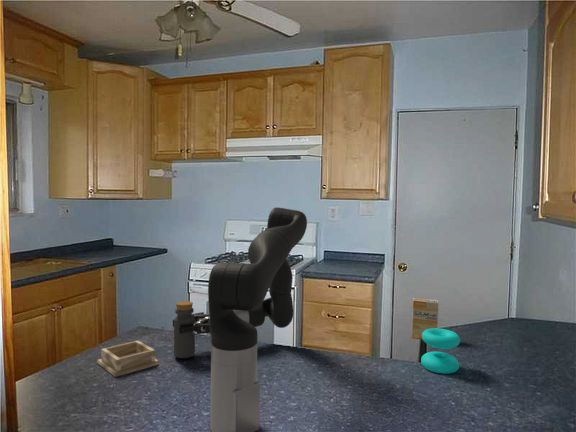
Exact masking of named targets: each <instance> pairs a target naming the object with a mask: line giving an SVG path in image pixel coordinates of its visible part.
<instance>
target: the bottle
mask: <svg viewBox="0 0 576 432" xmlns="http://www.w3.org/2000/svg"><path fill="white" fill-rule="evenodd" d="M193 304H194V303H193V302H192V301H190V300H186V301H185V300H182V301H178V302H175V306H176V309H174V310H175V311H174V312H175V313H174V314H175V315H176V316H175V317H174V318H173V320H174V327H173V356H174V357H175V358H179V359H186V358H187V359H189V358H191V357H193V356H195V354H196V333H193V331H192V332H188V333H181V334H180V333H179V332H178V326H179V325H184V324H192V325H193V323H195V318H194V316H192V314H194V308H193Z"/></svg>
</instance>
